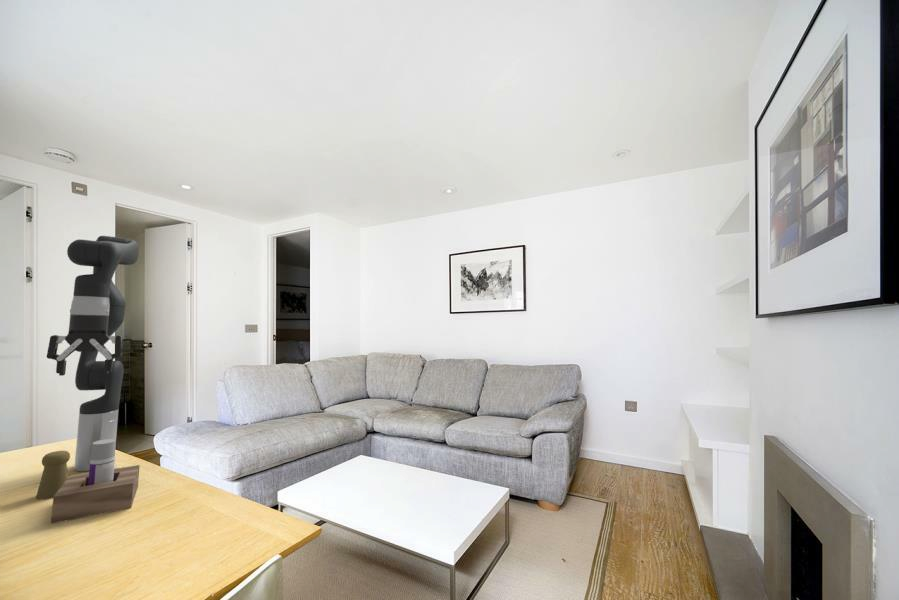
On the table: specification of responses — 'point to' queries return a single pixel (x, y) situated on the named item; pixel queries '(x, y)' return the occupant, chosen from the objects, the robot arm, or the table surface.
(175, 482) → the table surface
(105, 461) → the container
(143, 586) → the table surface
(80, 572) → the table surface
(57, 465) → the cork
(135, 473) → the well block
